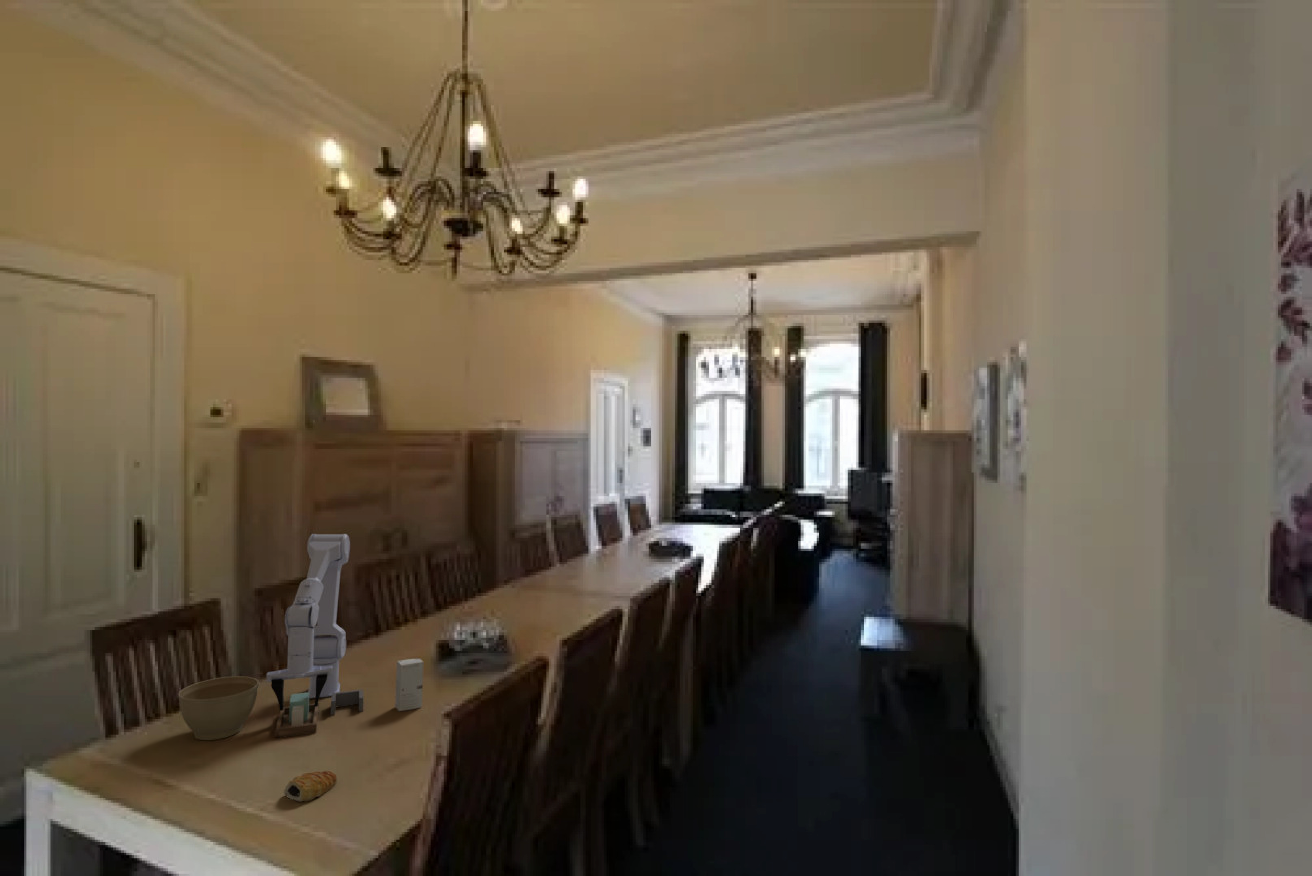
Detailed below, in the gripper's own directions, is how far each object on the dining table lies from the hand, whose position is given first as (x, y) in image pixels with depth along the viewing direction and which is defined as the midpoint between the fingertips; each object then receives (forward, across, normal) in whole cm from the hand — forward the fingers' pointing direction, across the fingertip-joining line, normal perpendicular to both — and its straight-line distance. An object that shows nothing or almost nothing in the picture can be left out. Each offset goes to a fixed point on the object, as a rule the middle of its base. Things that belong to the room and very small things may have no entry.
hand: (299, 706), depth 170 cm
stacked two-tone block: (+3, 0, -1) cm, 3 cm away
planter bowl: (+4, -17, -1) cm, 17 cm away
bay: (+3, +11, +4) cm, 12 cm away
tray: (+3, 0, -2) cm, 4 cm away
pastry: (+4, +4, -40) cm, 40 cm away
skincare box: (+4, +26, 0) cm, 26 cm away
